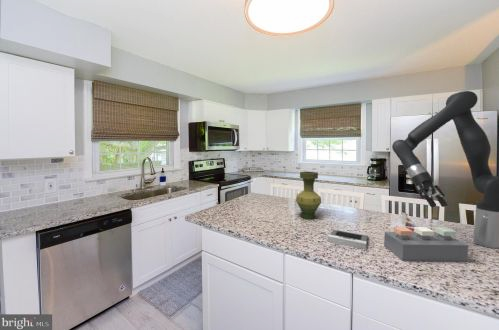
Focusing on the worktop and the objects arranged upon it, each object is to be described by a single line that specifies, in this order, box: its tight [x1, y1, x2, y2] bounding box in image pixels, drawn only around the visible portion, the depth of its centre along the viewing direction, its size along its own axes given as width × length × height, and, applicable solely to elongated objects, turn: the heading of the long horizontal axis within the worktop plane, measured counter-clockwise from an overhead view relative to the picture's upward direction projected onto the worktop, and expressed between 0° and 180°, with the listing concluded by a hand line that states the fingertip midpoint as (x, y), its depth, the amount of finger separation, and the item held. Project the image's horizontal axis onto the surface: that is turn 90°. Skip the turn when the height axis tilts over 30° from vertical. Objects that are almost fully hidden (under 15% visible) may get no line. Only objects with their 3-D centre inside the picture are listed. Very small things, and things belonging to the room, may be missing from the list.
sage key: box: [434, 226, 457, 240], centre depth 101 cm, size 5×5×6 cm
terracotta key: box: [393, 226, 413, 240], centre depth 101 cm, size 5×5×6 cm
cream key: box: [414, 226, 435, 240], centre depth 101 cm, size 5×5×6 cm
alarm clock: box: [327, 228, 369, 250], centre depth 117 cm, size 17×5×16 cm
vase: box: [295, 171, 322, 221], centre depth 151 cm, size 16×16×30 cm
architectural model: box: [401, 212, 414, 227], centre depth 136 cm, size 3×7×7 cm, turn 165°
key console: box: [383, 231, 469, 263], centre depth 101 cm, size 26×14×7 cm, turn 88°
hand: (439, 206), depth 102 cm, fingers open, 8 cm apart
